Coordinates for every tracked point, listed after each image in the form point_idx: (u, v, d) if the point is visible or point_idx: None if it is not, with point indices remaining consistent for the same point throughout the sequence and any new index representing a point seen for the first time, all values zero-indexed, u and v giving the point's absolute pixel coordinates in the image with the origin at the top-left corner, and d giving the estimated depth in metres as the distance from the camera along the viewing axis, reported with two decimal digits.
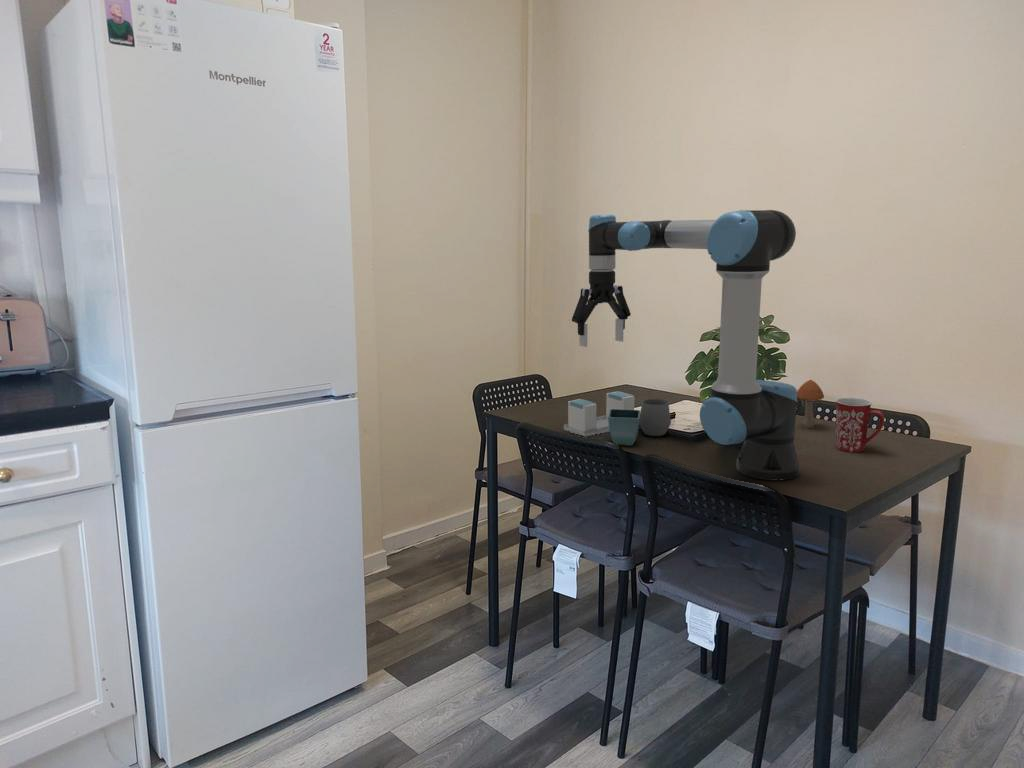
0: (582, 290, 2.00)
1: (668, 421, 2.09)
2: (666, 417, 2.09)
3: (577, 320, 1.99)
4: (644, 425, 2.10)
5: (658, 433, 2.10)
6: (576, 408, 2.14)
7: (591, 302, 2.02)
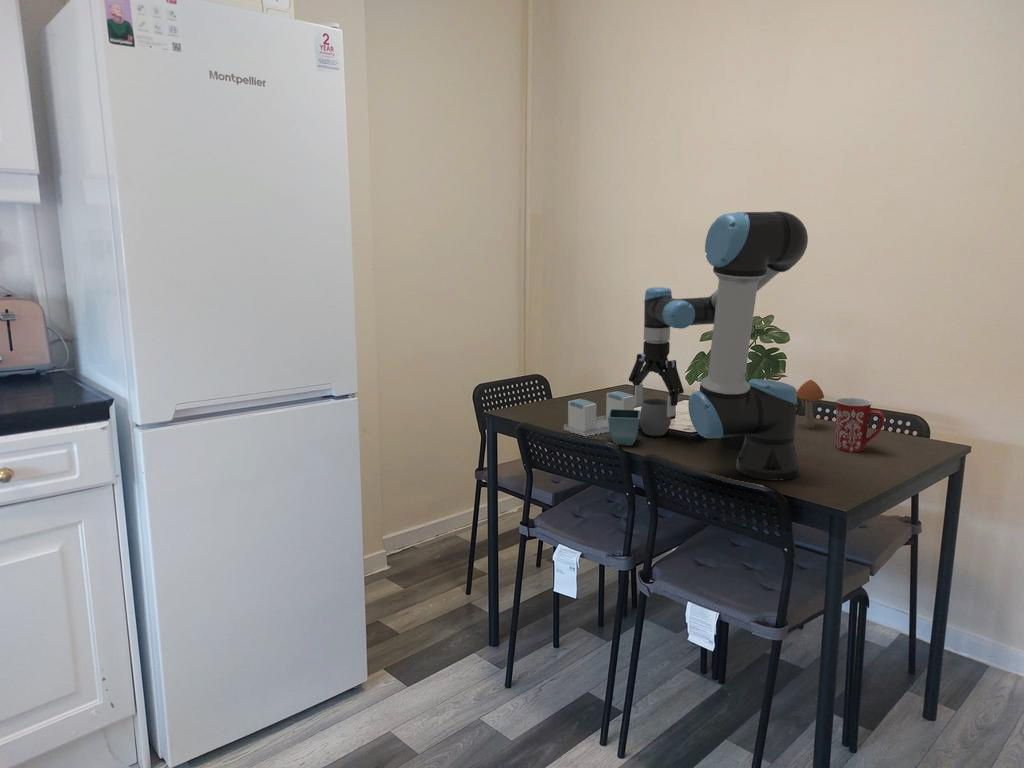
0: None
1: (668, 421, 2.09)
2: (666, 417, 2.09)
3: (629, 379, 2.18)
4: (644, 425, 2.10)
5: (658, 433, 2.10)
6: (576, 408, 2.14)
7: None
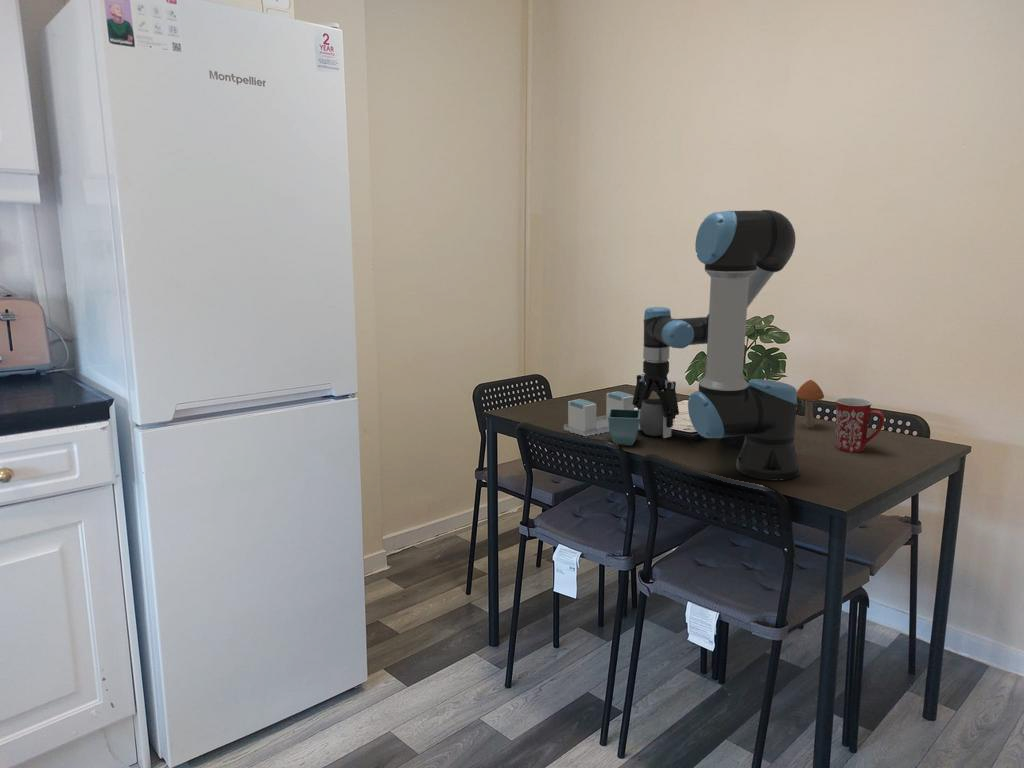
0: None
1: None
2: None
3: (633, 403, 2.18)
4: (644, 425, 2.10)
5: (658, 433, 2.10)
6: (576, 408, 2.14)
7: None
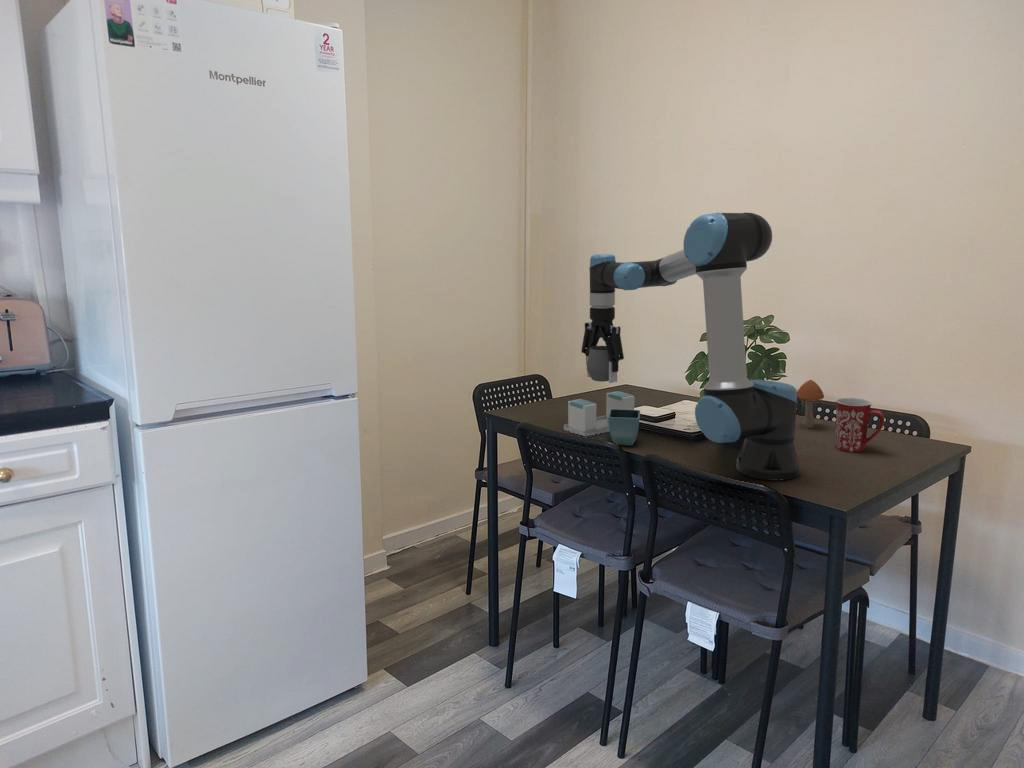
0: None
1: None
2: None
3: (582, 351, 2.22)
4: (591, 370, 2.14)
5: (605, 378, 2.14)
6: (576, 408, 2.14)
7: None
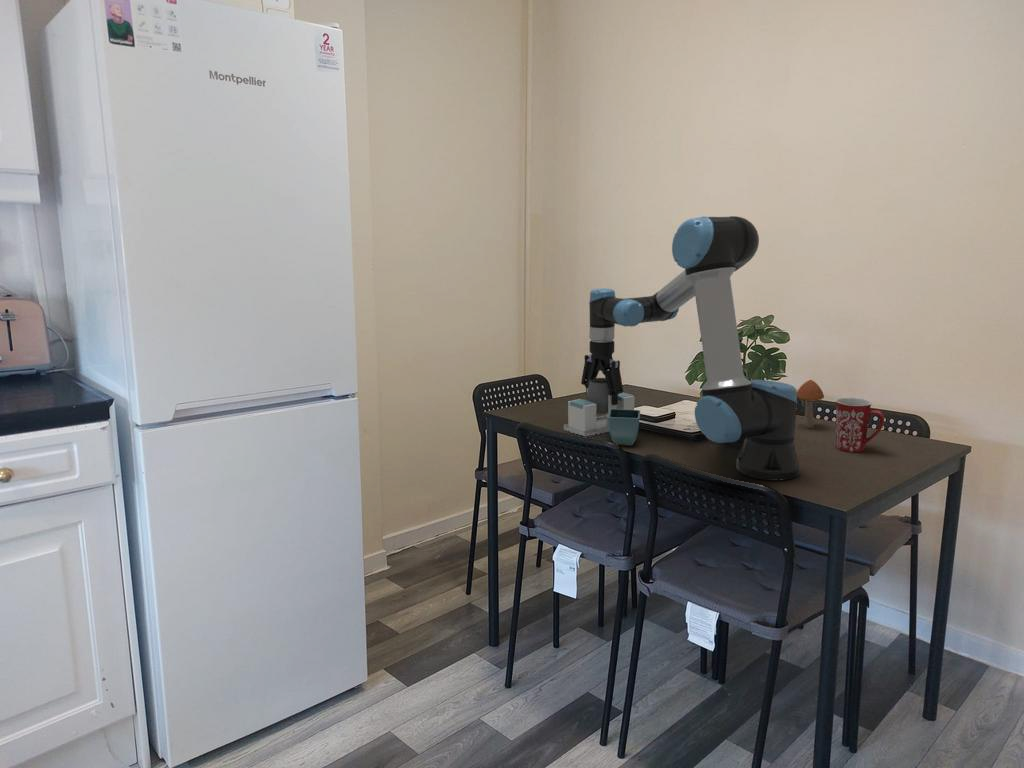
0: None
1: None
2: None
3: (581, 382, 2.24)
4: None
5: (604, 411, 2.17)
6: (576, 408, 2.14)
7: None
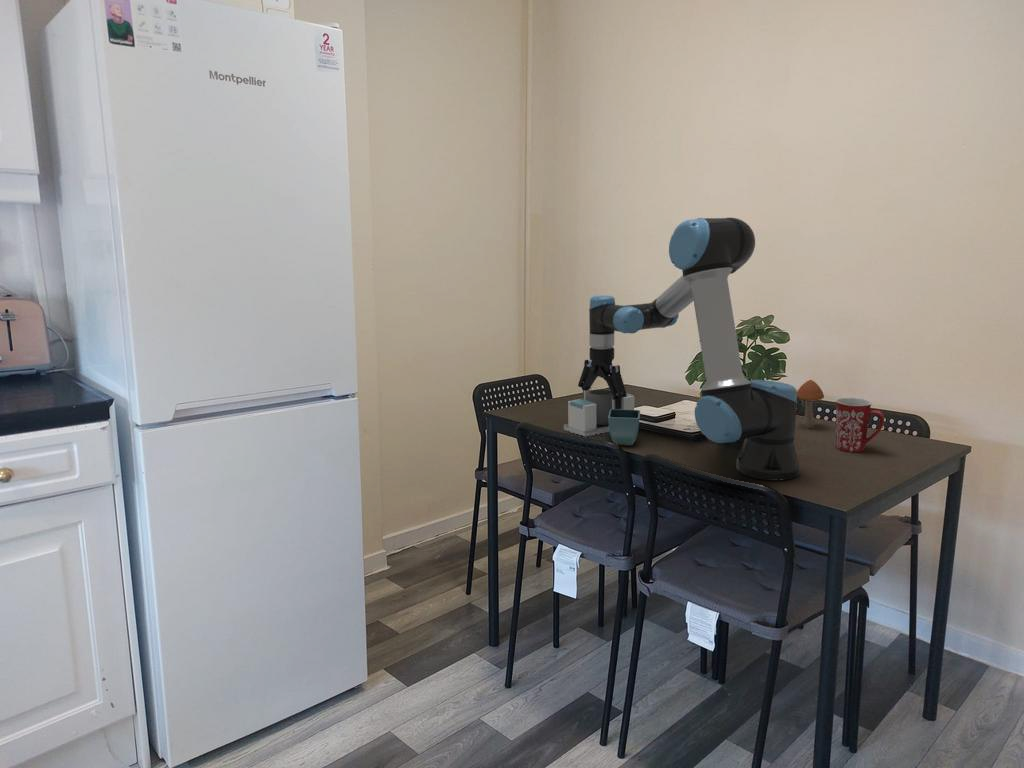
0: None
1: None
2: (611, 406, 2.16)
3: (578, 384, 2.26)
4: None
5: (604, 422, 2.17)
6: (576, 408, 2.14)
7: None
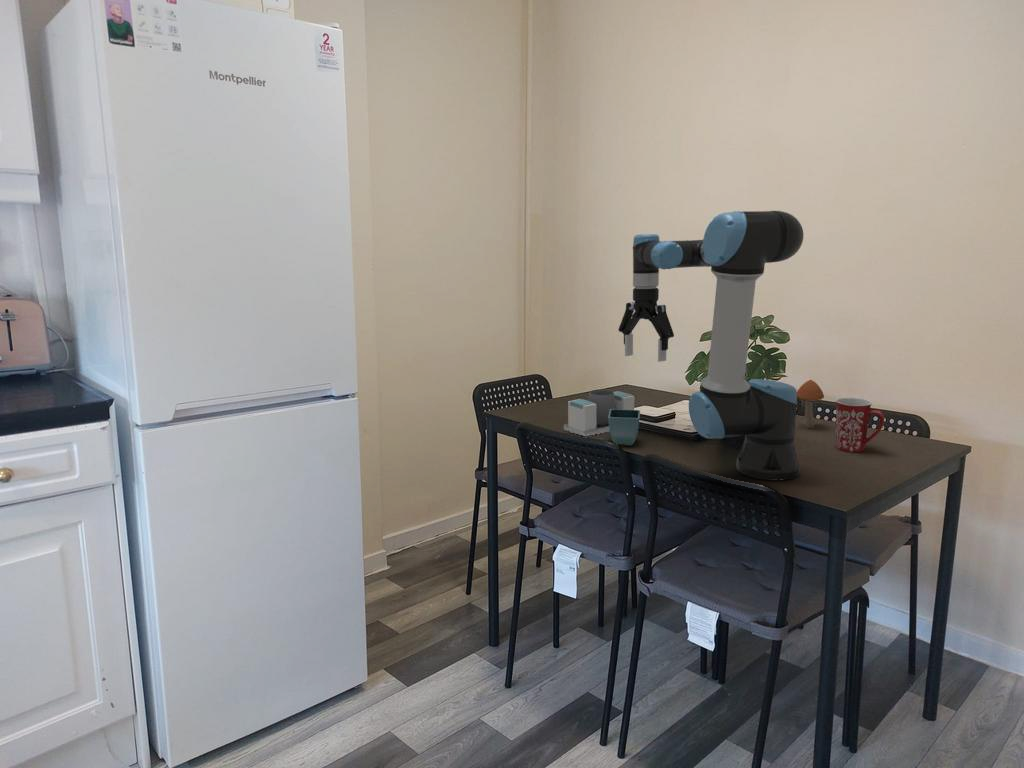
0: None
1: None
2: (611, 407, 2.16)
3: (619, 329, 2.19)
4: None
5: (604, 423, 2.17)
6: (576, 408, 2.14)
7: None
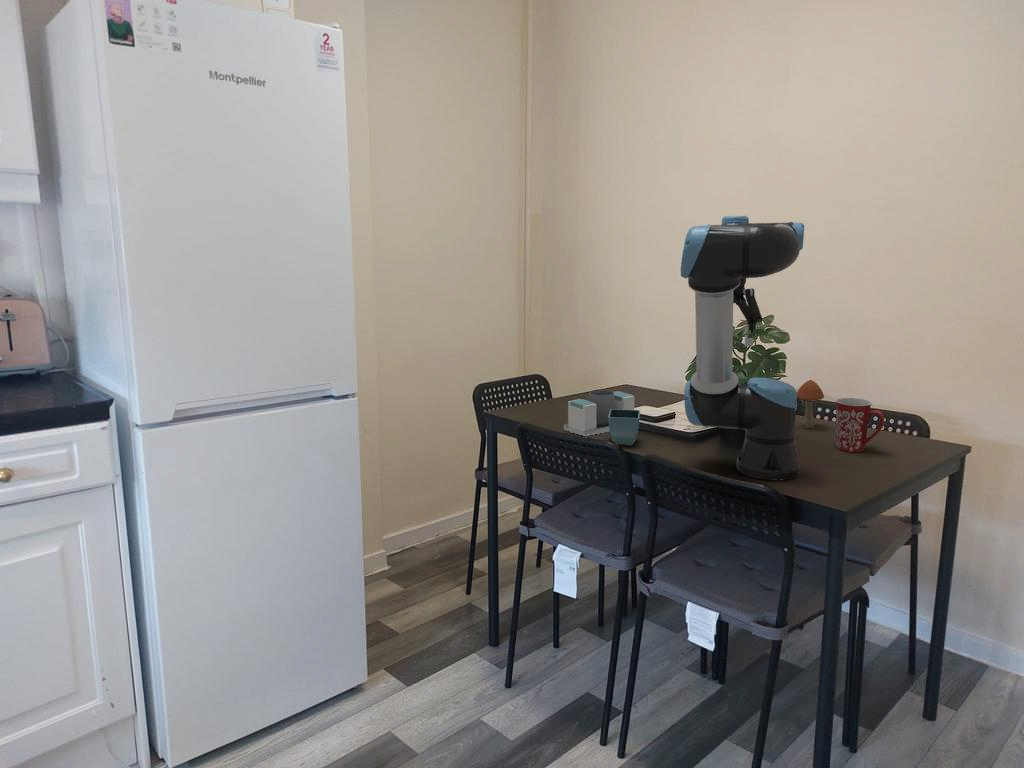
0: None
1: None
2: (611, 407, 2.16)
3: None
4: None
5: (604, 423, 2.17)
6: (576, 408, 2.14)
7: None
